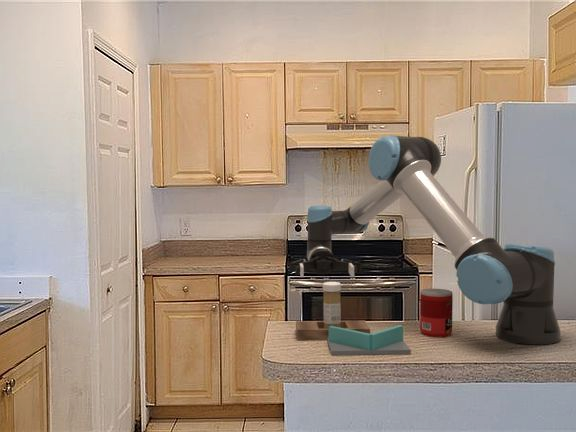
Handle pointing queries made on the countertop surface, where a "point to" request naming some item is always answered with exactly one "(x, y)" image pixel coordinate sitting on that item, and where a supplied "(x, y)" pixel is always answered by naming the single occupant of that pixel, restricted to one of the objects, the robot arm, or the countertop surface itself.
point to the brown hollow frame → (317, 331)
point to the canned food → (436, 312)
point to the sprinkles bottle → (332, 304)
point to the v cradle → (367, 342)
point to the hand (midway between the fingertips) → (327, 272)
